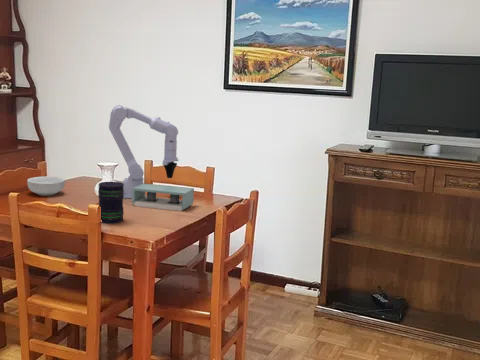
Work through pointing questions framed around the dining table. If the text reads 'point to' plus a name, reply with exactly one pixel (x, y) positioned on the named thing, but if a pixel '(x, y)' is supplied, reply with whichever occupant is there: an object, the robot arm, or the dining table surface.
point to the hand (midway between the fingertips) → (169, 177)
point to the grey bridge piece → (187, 193)
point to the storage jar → (111, 202)
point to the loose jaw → (151, 196)
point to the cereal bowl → (46, 185)
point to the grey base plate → (159, 204)
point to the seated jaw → (174, 199)
